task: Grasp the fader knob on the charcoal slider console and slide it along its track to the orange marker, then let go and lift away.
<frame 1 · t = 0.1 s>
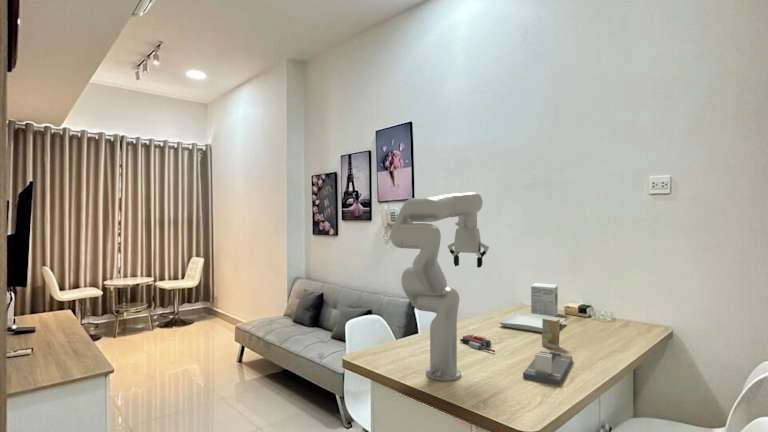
hand: (467, 266, 167), 37 cm above the table, tool pointing down, fingers open, 9 cm apart
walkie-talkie: (480, 347, 180), on the table
skincare box: (550, 346, 180), on the table
square plate: (532, 326, 215), on the table
slider console: (549, 369, 152), on the table
fader knob: (543, 362, 144), point 5 cm above the table, slide at 0.0 cm
supplement box: (544, 315, 240), on the table
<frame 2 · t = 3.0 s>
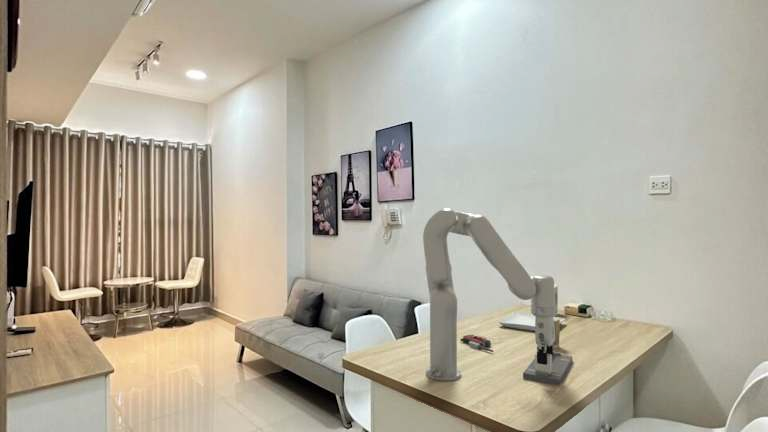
hand: (545, 359, 143), 7 cm above the table, tool pointing down, fingers open, 9 cm apart
nothing on the table moved.
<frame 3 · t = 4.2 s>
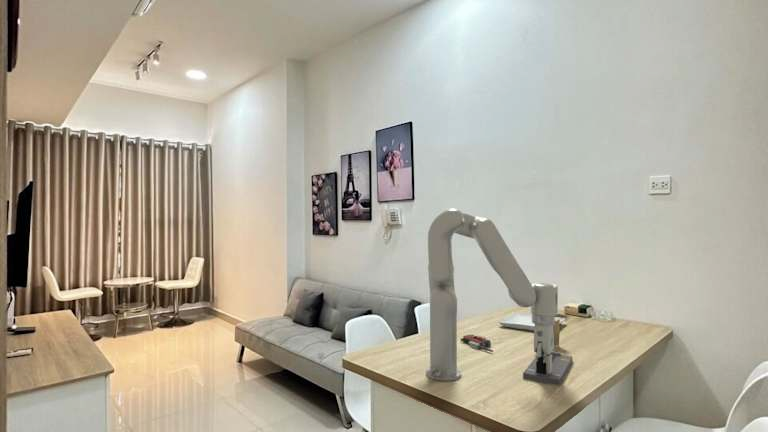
hand: (543, 370, 143), 3 cm above the table, tool pointing down, fingers open, 4 cm apart
nothing on the table moved.
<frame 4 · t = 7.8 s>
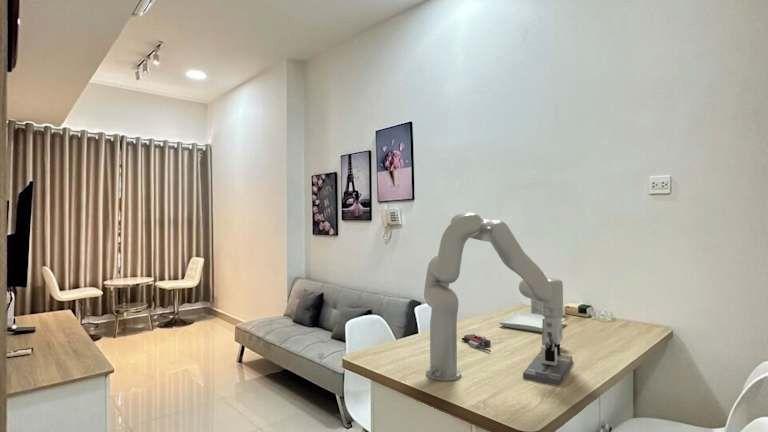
hand: (552, 357, 154), 4 cm above the table, tool pointing down, fingers open, 8 cm apart
fader knob: (549, 354, 152), point 5 cm above the table, slide at 10.0 cm
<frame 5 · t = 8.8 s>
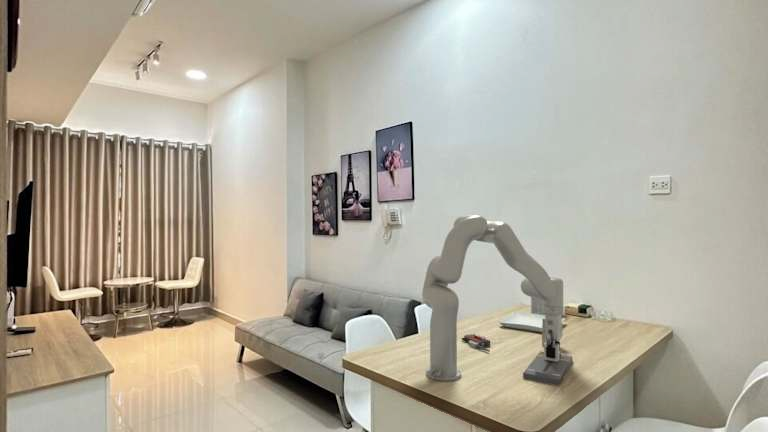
hand: (553, 354, 158), 4 cm above the table, tool pointing down, fingers open, 8 cm apart
fader knob: (551, 351, 156), point 5 cm above the table, slide at 14.7 cm, touching gripper
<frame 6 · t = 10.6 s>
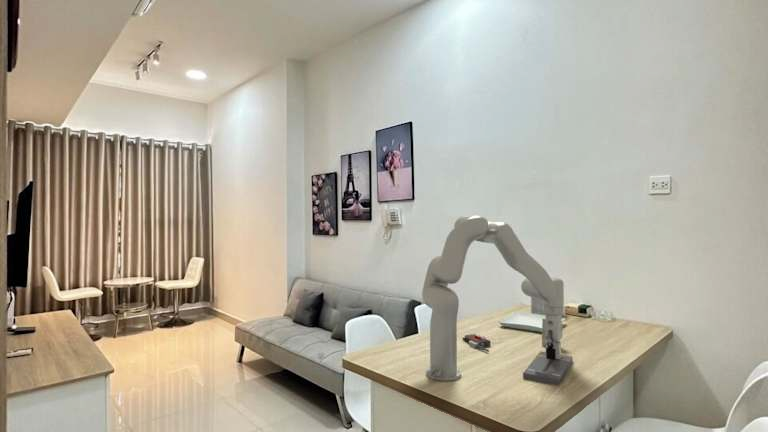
hand: (553, 355, 158), 3 cm above the table, tool pointing down, fingers open, 7 cm apart
fader knob: (553, 349, 159), point 5 cm above the table, slide at 18.1 cm
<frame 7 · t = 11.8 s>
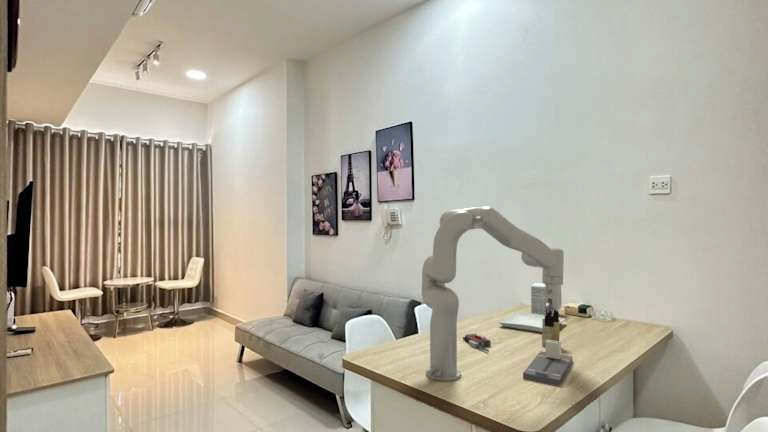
hand: (551, 324, 159), 15 cm above the table, tool pointing down, fingers open, 9 cm apart
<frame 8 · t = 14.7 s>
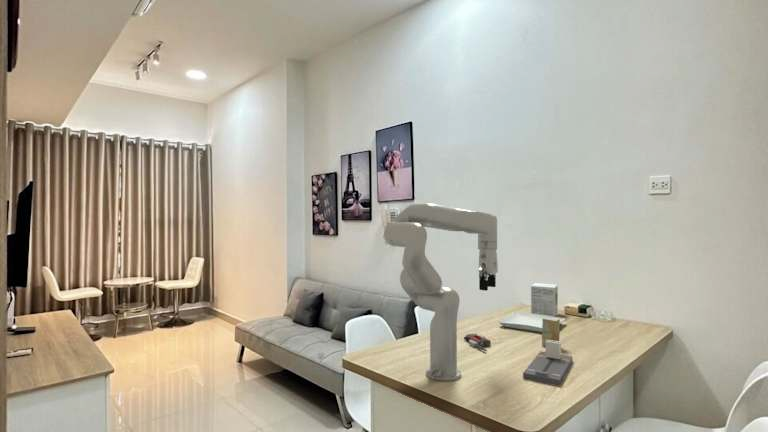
hand: (487, 288, 164), 28 cm above the table, tool pointing down, fingers open, 9 cm apart
at the end: fader knob slide at 18.1 cm; the gripper is holding nothing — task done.
